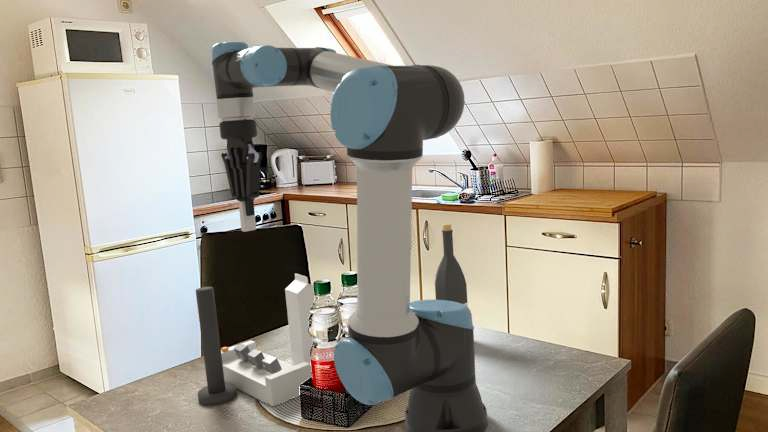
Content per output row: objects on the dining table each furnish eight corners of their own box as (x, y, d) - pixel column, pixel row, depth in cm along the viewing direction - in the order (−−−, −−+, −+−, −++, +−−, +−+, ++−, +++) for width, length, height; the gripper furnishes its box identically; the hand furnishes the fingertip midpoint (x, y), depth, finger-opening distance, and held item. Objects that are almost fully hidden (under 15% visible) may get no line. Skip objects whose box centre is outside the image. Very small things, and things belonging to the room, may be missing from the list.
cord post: (243, 395, 137) (231, 287, 133) (209, 409, 132) (195, 296, 128) (225, 385, 143) (212, 281, 139) (191, 398, 138) (177, 290, 134)
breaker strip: (312, 390, 137) (309, 361, 136) (273, 407, 131) (270, 376, 130) (253, 363, 155) (250, 337, 154) (216, 377, 148) (212, 350, 147)
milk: (305, 372, 147) (295, 280, 144) (292, 365, 152) (282, 275, 148) (327, 365, 151) (318, 274, 147) (314, 358, 156) (305, 270, 152)
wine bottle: (433, 347, 157) (425, 227, 152) (443, 336, 164) (436, 221, 159) (465, 350, 153) (458, 227, 149) (474, 338, 161) (467, 221, 156)
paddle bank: (287, 373, 136) (280, 359, 135) (280, 379, 135) (273, 365, 134) (243, 354, 149) (237, 341, 148) (236, 359, 148) (230, 346, 147)
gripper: (269, 117, 131) (280, 230, 135) (237, 119, 141) (248, 224, 144) (237, 119, 126) (249, 236, 130) (206, 121, 136) (218, 230, 140)
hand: (248, 230), depth 137 cm, fingers closed
